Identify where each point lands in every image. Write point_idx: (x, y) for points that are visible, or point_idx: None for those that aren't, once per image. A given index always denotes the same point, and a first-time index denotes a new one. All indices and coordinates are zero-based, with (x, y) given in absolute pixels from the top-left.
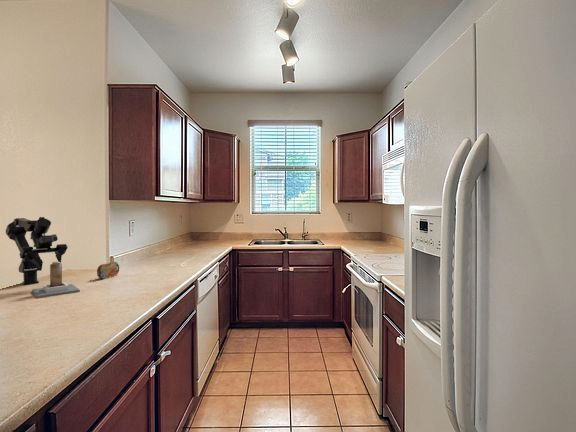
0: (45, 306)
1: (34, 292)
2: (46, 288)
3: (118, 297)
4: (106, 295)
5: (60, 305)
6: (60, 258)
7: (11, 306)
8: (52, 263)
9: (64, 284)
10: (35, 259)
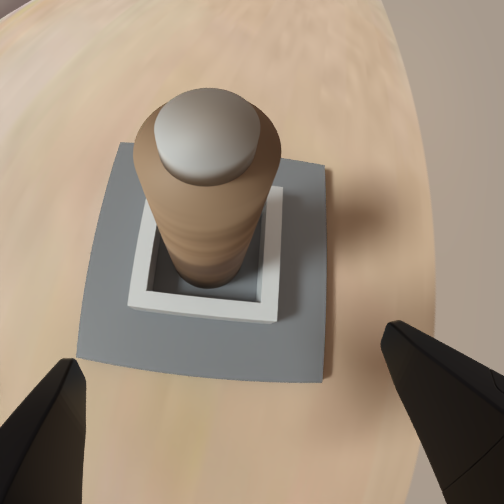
0: (310, 50)
1: (325, 284)
2: (282, 191)
3: (107, 11)
4: (107, 40)
5: (270, 31)
6: (34, 402)
7: (404, 129)
8: (258, 132)
9: (156, 226)
10: (473, 365)
